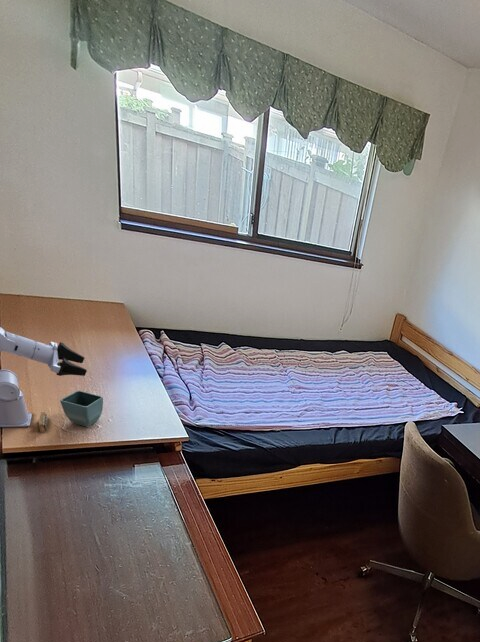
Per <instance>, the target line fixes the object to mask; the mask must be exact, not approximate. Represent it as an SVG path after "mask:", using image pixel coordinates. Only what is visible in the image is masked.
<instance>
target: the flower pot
mask: <svg viewBox="0 0 480 642" xmlns="http://www.w3.org/2000/svg"><path fill="white" fill-rule="evenodd" d="M59 402H60V405H61V409H62V410H63V413H64V414H65V417H66V418H67V419H68V420H69V421H70V422H71V423H73V424H74V425H79V426H82V427H86V428H89V427H90V426H92V425H93V424H95V423H96V422H98V421H99V419H100V417H101V415H102V414H103V409H104V408H103V407H104V396H101V395H98V394H94V393H90V392H86V391H82V390H76V391H73V392H72V393H70V394H68V395H66V396H65V397H63V398H61V399H60V400H59Z"/></svg>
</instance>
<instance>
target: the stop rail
mask: <svg viewBox="0 0 480 642" xmlns="http://www.w3.org/2000/svg"><path fill="white" fill-rule="evenodd" d="M48 422H49V418H48V414H46V412H45V411H41V412H40V415H39V421H38V428H39V431H40V433H45V432H47V428H48V424H49V423H48Z"/></svg>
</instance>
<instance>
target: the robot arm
mask: <svg viewBox="0 0 480 642" xmlns="http://www.w3.org/2000/svg"><path fill="white" fill-rule="evenodd" d="M0 352H6V353H8V354H9V353H10V354H12V355H15V356H19V357H21V358H22V357H23V358H24V359H25V358H26V359H28V360H31V361H35V362H38V363H41V364H45V365H47V366H48V367H49V369H50V372H53V373H56V375H57V376H59V377H62V376H79V377H80V376H82V377H85V376H86V374H87V372H88V370H87V369H86V368H84V367H82V366H79V365H77V364H75V363H78V364H83V363H84V361H85V356H83V355H81V354H80V353H78V352H76V351H74V350H73V349H71V348H70V347H68V346H67V345H66V344H65V343H64V342H61V341H60V342H59V343H57V342H53V341H50V342H49V344H46V343H42V342H40V341H37V340H34V339H31V338H28V337H25V336H21V335H18V334H16V333H12V332H9V331H6V330H4V328H2V327H1V326H0ZM73 362H74V363H73ZM19 386H20V385H19V377H18V375H17V374H16V373H14V371H12V370H9V369H0V428H15V427H16V428H19V427H23V428H24V427H30V426H31V422H32V417H33V413H31V412H28V408H27V404H26V400H25V396H24V392H23V391H21V390H20V387H19Z"/></svg>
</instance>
